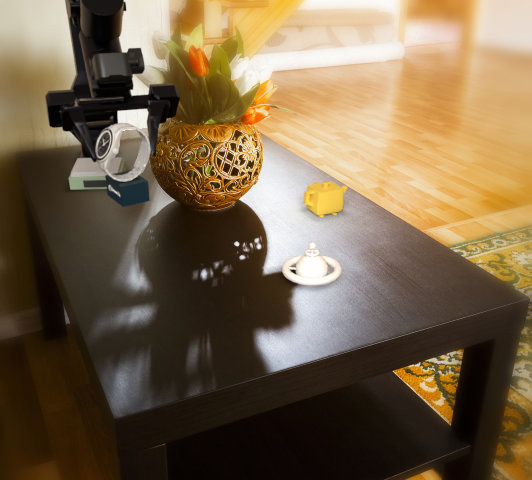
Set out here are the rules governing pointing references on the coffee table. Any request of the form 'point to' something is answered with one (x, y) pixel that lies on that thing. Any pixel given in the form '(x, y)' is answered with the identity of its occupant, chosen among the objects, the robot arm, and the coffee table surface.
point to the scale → (92, 173)
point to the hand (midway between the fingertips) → (125, 157)
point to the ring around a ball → (311, 268)
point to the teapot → (324, 198)
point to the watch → (128, 182)
